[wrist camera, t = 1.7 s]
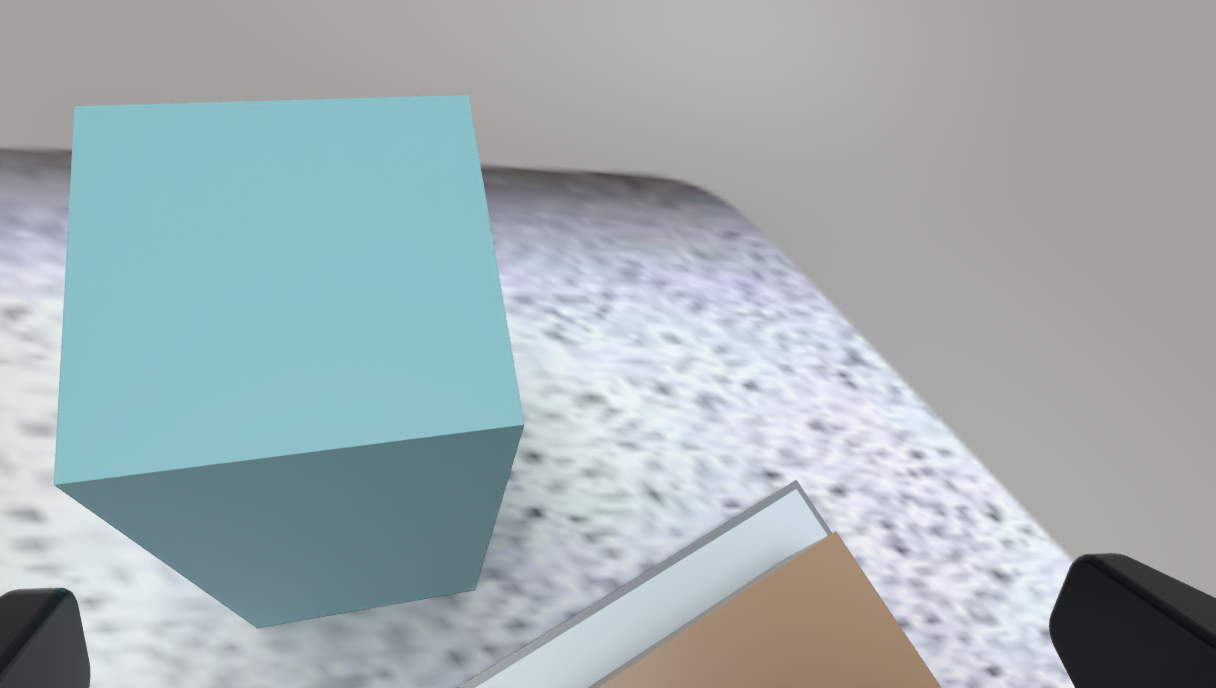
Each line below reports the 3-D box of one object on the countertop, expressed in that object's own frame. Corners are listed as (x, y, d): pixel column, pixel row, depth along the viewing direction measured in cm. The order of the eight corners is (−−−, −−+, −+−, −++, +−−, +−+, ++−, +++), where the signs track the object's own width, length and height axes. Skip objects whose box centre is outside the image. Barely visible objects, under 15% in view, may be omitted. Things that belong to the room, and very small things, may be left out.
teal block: (474, 589, 21) (524, 425, 10) (257, 627, 20) (53, 485, 9) (449, 400, 23) (468, 94, 12) (249, 424, 22) (74, 106, 11)
